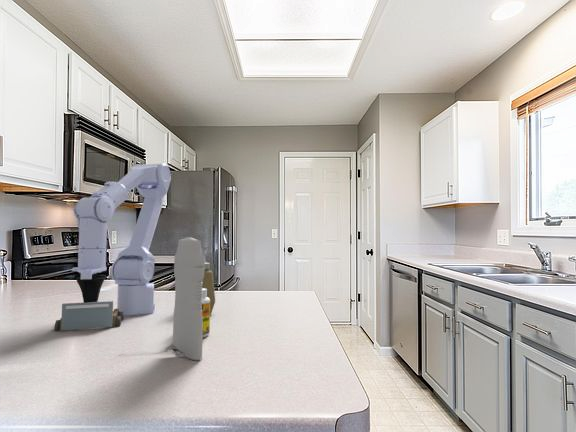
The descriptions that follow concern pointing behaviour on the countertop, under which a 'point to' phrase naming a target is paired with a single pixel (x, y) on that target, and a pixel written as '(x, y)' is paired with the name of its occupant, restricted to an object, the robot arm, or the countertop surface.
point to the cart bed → (116, 323)
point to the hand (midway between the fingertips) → (90, 307)
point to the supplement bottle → (205, 313)
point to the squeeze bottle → (208, 283)
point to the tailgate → (87, 315)
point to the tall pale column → (188, 299)
